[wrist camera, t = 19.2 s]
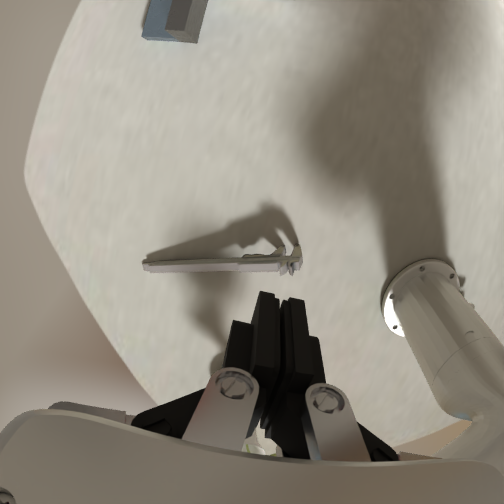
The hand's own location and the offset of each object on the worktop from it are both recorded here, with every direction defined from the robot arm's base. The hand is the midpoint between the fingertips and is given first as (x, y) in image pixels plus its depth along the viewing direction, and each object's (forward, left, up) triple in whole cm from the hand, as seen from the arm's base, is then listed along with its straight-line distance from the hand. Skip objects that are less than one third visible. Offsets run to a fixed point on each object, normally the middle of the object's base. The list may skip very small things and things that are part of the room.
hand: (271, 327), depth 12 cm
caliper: (+4, +11, -27) cm, 29 cm away
